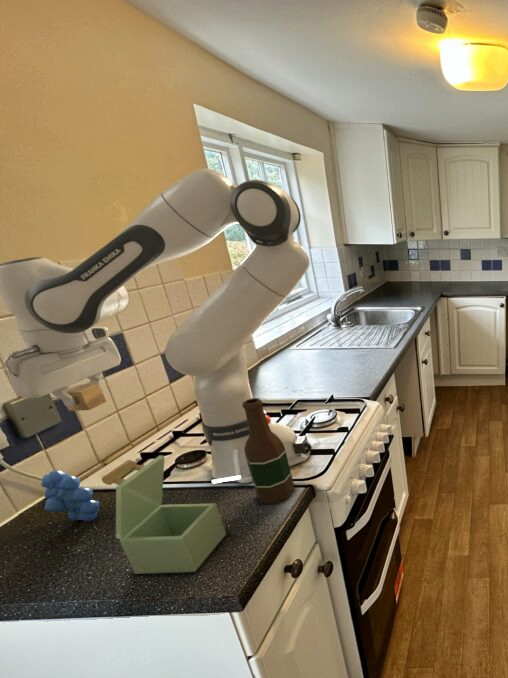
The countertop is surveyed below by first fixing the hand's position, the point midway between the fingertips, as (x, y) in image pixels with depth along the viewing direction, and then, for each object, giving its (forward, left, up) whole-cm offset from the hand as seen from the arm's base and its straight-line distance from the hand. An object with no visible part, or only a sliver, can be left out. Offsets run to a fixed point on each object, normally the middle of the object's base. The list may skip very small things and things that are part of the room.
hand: (85, 399), depth 91 cm
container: (-13, +36, -23) cm, 44 cm away
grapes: (+6, +12, -23) cm, 26 cm away
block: (0, 0, -2) cm, 2 cm away
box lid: (-10, +35, -9) cm, 37 cm away
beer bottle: (-30, +26, -23) cm, 46 cm away
